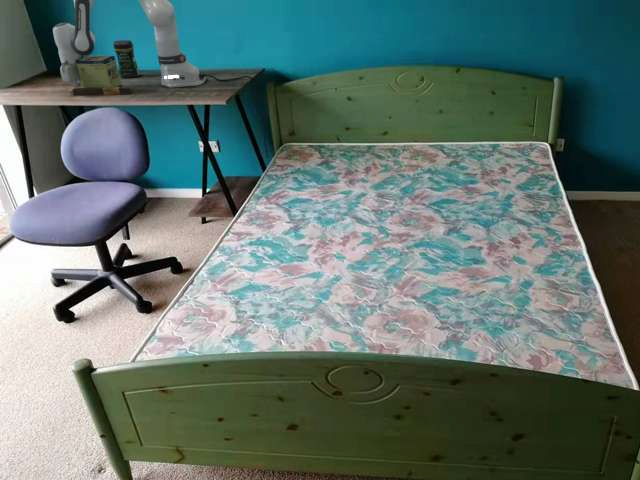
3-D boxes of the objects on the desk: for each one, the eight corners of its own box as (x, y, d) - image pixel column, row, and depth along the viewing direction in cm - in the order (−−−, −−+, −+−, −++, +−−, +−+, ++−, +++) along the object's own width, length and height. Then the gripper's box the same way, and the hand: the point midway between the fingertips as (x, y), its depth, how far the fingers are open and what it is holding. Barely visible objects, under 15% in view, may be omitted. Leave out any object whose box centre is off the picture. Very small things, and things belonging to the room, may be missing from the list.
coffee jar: (119, 78, 320) (109, 42, 310) (124, 74, 327) (115, 39, 316) (137, 78, 320) (128, 41, 310) (141, 74, 327) (133, 38, 316)
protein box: (112, 92, 297) (104, 60, 288) (83, 92, 299) (74, 60, 290) (123, 87, 305) (115, 55, 297) (94, 86, 308) (86, 55, 299)
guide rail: (131, 93, 296) (130, 86, 294) (130, 94, 294) (128, 88, 293) (75, 94, 297) (74, 88, 295) (74, 95, 295) (72, 89, 293)
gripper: (67, 63, 285) (75, 92, 292) (85, 53, 302) (92, 81, 309) (54, 63, 285) (62, 93, 292) (72, 54, 302) (80, 81, 309)
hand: (78, 87), depth 301 cm, fingers closed
